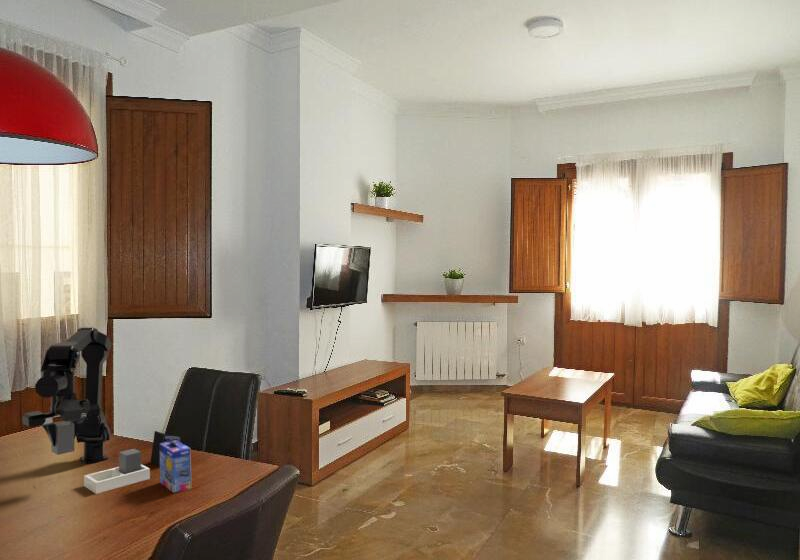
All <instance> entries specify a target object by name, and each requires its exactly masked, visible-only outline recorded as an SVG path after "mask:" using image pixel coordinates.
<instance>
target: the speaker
mask: <svg viewBox="0 0 800 560" xmlns="http://www.w3.org/2000/svg"><path fill="white" fill-rule="evenodd" d="M167 437H168V438H170V439H172V440H173V441H174V440H177V441H179V442H181V437H180V436H175V435H166V433H164V432H160V431H157V430H154V434H153V440H152V448H151V456H150V463H152V464H154V465H156V466H159V467H160V447H159V444H160V443H164V442H169V440H168V438H167Z"/></svg>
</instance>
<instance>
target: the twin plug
mask: <svg viewBox="0 0 800 560" xmlns="http://www.w3.org/2000/svg"><path fill="white" fill-rule="evenodd" d="M118 453H119V454H118V463H119V464H118V467H119V472H121V473H122V474H128V473H131V472H135V471H139V470H141V464H142V451H139V450H138V449H136V448H131V449H127V450H123V451H119V452H118Z"/></svg>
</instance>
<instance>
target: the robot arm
mask: <svg viewBox="0 0 800 560" xmlns="http://www.w3.org/2000/svg"><path fill="white" fill-rule="evenodd" d="M111 349H112V341H111V340H110V338H109V337H108V335H107V334H105V333H102V332H101V331H99V330H98V328H95V327H80V328H78V329H77V331H76V332H75V333H74V334H73V335H72V336H70V337H69V338H68V339H67V340H65V341H63V342H58V343H53V344H52V345H50V346H49V348H48V349H46V351H45V355H44V359H43V362H42V365H41V368H40V372H41V373H42V377H40V378H39V379H37V381H36V383H35V385H34V389H35V392H36V393H37V395H38V396H40V398H41V397H42V398H45V399H46V398H51V399H50V403H51V404H50V406H49V411H50V412H45V413H44V412H42V411H40V410H36V411H30V412H25V413H24V414H23V415H22V418H21V419H22V420H21V421H22V424H23V425H24V426H27V427H29V428H34V427H42V428H43V429H44V431H45V433H46V435H47V437H48V439H49V441H50V443H51V447H52V446H55V442H56V440H55V425H56V424H55V423H56V422H54V420H55V419H59V418H61V420H62V421H71V422H73V423H74V440H75V439H76V443H78V444H80V443H83V456H80V457H79V460H80V461H82V462H84V463H85V464H91V463H96V462H100V461H105V460H107V459H109V457H108V456H107V455H105V454H104V453H105V452H104V451H105V450H104V449H105V448H104V447H105V443H106V442H108V441H110V440H111V430H110V427H109V425H108V424H107V417H106V416H105V414H104V412H103V411H102V408H101V406H102V389H103V388H102V387H103V372H104V371H103V370H104V369H103V367H104V363H105V362H106V361H107V359H108V358H109V356H110V352H111ZM81 358H82V360H83V361H84V362H85V364H86V366H85V367H86V368H85V369H86V371H85V391H84V399H80V400H78V399H77V393H76V392H75V371H76V370H77V366H78V363H79V360H80V359H81Z"/></svg>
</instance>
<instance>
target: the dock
mask: <svg viewBox="0 0 800 560" xmlns="http://www.w3.org/2000/svg"><path fill="white" fill-rule="evenodd" d="M150 470H151V468H149V467H148V466H146V465H144V464H142V463H141V470H139V471H135V472H131V473H128V474H122V473H121V472H119V466H116V467H113V468H109V469H105V470H101V471H96V472H93V473H88V474H86V475H83V486H84V487H85V488H87V489H88V490H89V491H91V492H92V493H94V494H96V495H97V494H101V493H104V492H107V491H111V490H114V489H118V488H122V487H127V486H129V485H133V484H136V483H140V482H144V481H147V480H150V479H151V471H150Z"/></svg>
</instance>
